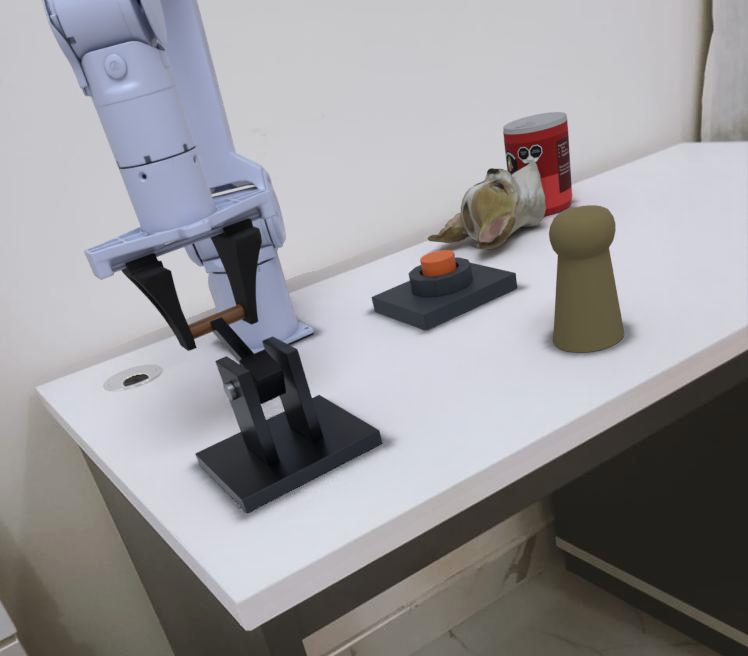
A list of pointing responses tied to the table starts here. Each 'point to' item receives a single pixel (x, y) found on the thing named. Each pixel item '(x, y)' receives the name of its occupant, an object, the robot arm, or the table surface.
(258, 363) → the lever
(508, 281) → the button box
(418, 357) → the table surface
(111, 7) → the robot arm
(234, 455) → the bracket
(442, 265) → the button
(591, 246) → the olive pawn
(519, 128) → the canned food
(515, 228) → the ceramic sculpture
